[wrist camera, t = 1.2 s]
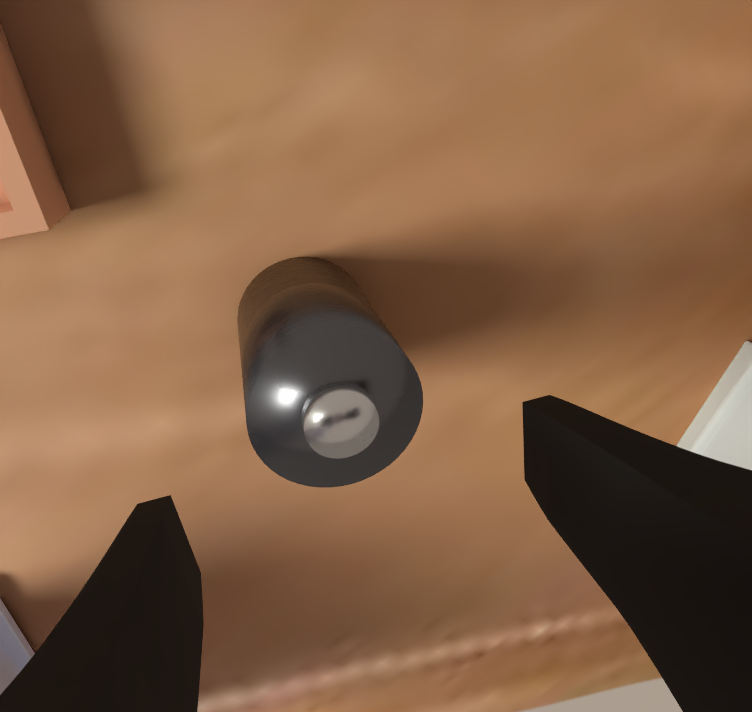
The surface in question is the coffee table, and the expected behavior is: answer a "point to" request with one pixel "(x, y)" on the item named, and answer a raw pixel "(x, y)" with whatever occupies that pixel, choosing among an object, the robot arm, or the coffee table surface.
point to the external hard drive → (726, 416)
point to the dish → (24, 160)
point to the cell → (322, 376)
